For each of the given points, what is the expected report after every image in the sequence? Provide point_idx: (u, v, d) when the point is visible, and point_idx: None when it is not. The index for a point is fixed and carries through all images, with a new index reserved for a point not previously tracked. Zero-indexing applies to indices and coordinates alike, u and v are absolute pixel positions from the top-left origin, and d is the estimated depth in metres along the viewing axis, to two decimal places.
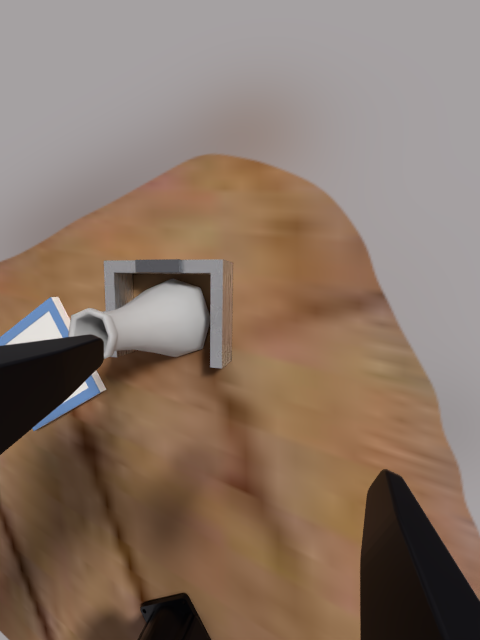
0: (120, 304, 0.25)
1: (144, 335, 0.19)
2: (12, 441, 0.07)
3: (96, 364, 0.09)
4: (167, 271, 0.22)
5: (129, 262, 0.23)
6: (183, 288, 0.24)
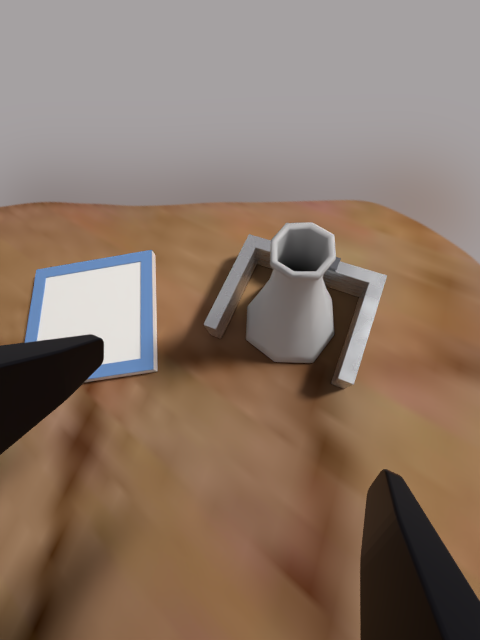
0: (242, 279, 0.22)
1: (316, 295, 0.16)
2: (12, 441, 0.07)
3: (96, 364, 0.09)
4: None
5: None
6: None
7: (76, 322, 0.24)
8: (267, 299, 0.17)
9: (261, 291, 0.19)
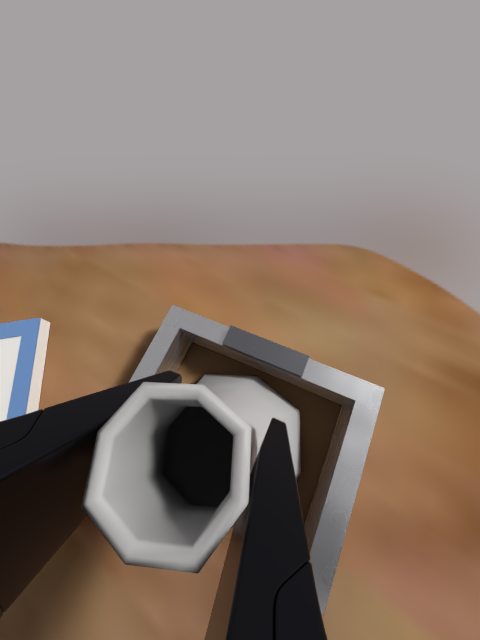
0: None
1: None
2: None
3: None
4: (280, 366, 0.13)
5: (214, 324, 0.14)
6: (281, 402, 0.14)
7: None
8: None
9: None
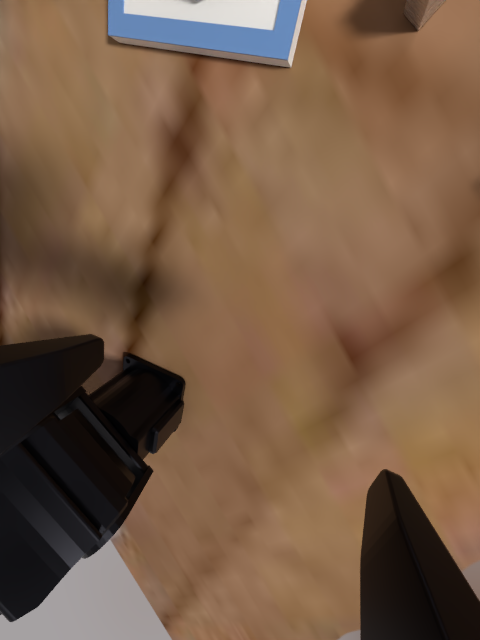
0: None
1: None
2: (13, 441, 0.07)
3: (96, 364, 0.09)
4: None
5: None
6: None
7: None
8: None
9: None
